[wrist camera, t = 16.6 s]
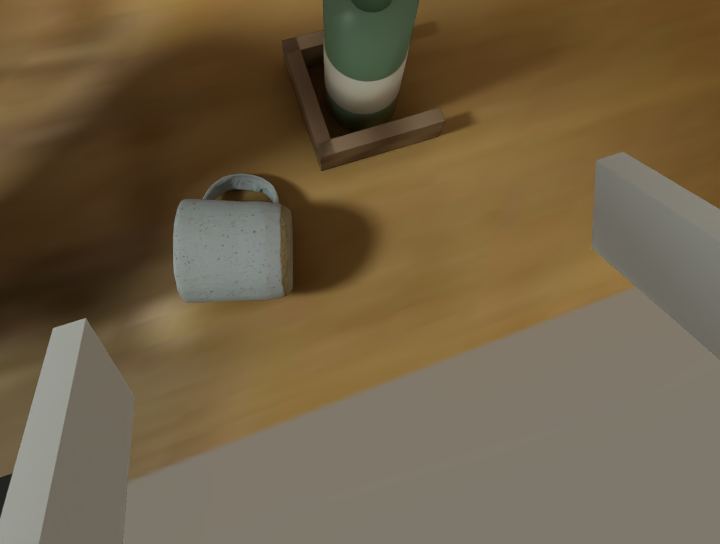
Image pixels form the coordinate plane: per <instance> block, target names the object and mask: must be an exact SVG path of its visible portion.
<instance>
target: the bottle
mask: <svg viewBox="0 0 720 544" xmlns="http://www.w3.org/2000/svg"><path fill="white" fill-rule="evenodd" d="M418 4H419V0H323V18H324V42H323V45H324V80H325V95H326V106H327V109H328V112H329V114H330V115H331V117H332V118H333V120H334V121H335V122H336V123H337V124H339V125H340V126H342V127H343V128H345V129H348V130H351V131H355V132H357V131H361V130H364V129H368V128H371V127H375V126H378V125H381V124H385V123H386V122H387V121H388V120H389V119H390V117H391V116H392V114H393V112H394V109H395V105H396V101H397V96H398V92H399V90H400V86H401V82H402V77H403V73H404V68H405V64H406V60H407V55H408V51H409V43H410V39H411V35H412V30H413V26H414V22H415V17H416V13H417V8H418Z"/></svg>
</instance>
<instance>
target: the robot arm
mask: <svg viewBox="0 0 720 544" xmlns="http://www.w3.org/2000/svg"><path fill="white" fill-rule="evenodd" d="M592 249H593V250H595V251H596V252H597V253H598V254H599V255H600V256H602V257H603V258H604V259H605V260H606V261H607V262H608V263H610V264H611V265H612V266H613V267H614V268H615V269H616V270H618V271H619V272H620V273H621V274H622V275H623V276H624V277H626V278H627V279H628V280H629V281H630V282H631V283H632V284H634V285H635V286H636V287H637V288H638V289H639V290H641V291H642V292H643V293H644V294H645V295H646V296H647V297H649V298H650V299H651V300H652V301H653V302H654V303H655V304H657V305H658V306H659V307H660V308H661V309H662V310H663V311H665V312H666V313H667V314H668V315H669V316H670V317H672V318H673V319H674V320H675V321H676V322H677V323H679V324H680V325H681V326H682V327H683V328H684V329H685V330H687V331H688V332H689V333H690V334H691V335H692V336H693V337H694V338H696V339H697V340H698V341H699V342H700V343H701V344H703V345H704V346H705V347H706V348H707V349H708V350H709V351H711V352H712V353H713V354H714V355H715V356H717V358H719V359H720V209H718V208H717V207H715V206H713V205H712V204H710V203H708V202H707V201H705V200H703V199H702V198H700V197H698V196H697V195H695V194H693V193H692V192H690V191H688V190H687V189H685V188H683V187H681V186H680V185H678V184H676V183H675V182H673V181H671V180H670V179H668V178H666V177H665V176H663V175H661V174H660V173H658V172H656V171H655V170H653V169H651V168H650V167H648V166H646V165H645V164H643V163H641V162H639V161H638V160H636V159H634V158H633V157H631V156H629V155H628V154H626V153H624V152H621V153H618V154H614V155H611V156H608V157H605V158H601V159H598V160H596V172H595V191H594V211H593V230H592ZM134 399H135V396H134V395H133V393H132V392H131V390H130V388H129V387H128V385H127V384H126V382H125V380H124V379H123V377H122V375H121V374H120V372H119V371H118V369H117V367H116V366H115V364H114V363H113V361H112V359H111V358H110V356H109V355H108V353H107V351H106V350H105V348H104V346H103V345H102V343H101V342H100V340H99V338H98V337H97V335H96V334H95V332H94V330H93V329H92V327H91V325H90V324H89V322H88V321H87V319H86V318H84V319H81V320H78V321H75V322H71V323H68V324H65V325H62V326H59V327H55V328H53V330H52V334H51V337H50V341H49V345H48V348H47V352H46V355H45V359H44V363H43V366H42V370H41V373H40V377H39V381H38V384H37V388H36V391H35V395H34V399H33V402H32V406H31V409H30V413H29V417H28V420H27V424H26V427H25V431H24V434H23V438H22V442H21V445H20V449H19V452H18V456H17V460H16V463H15V467H14V470H13V474H10V475H7V476H4V477H1V478H0V544H123V534H124V522H125V510H126V497H127V485H128V473H129V460H130V448H131V436H132V424H133V411H134Z"/></svg>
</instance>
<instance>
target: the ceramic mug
mask: <svg viewBox="0 0 720 544" xmlns="http://www.w3.org/2000/svg"><path fill="white" fill-rule="evenodd" d="M233 189H239V190H250V191H255V192H263V193H265V194H266V195H267V196H268V197H269V198H270V199H271V200H272V202H273V203H271V202H261V201H244V202H242V201H226V200H215V199H216V198H217V197H218V196H219V195H221V194H222V193H224V192H226V191H230V190H233ZM173 265H174V276H175V280H176V284H177V290H178V292H179V294H180V297H181V298H182V300H183V301H184V302H187V303H197V302H218V301H238V300H269V299H274V298H279V297H284V296H286V295H288V294H289V293H290V292H291V291H292V288H293V229H292V214H291V211H290V210H289V209H288V208H287V207H286V206H284V205H281V204H279V198H278V194H277V192H276V190H275V188H274V186H273V185H272V184H271V183H270V182H268V181H267V180H265V179H264V178H262V177H259V176H255V175H251V174H231V175H227V176H224V177H222V178H220V179H219V180H217V181H216V182H214V183H213V184H212V185H211V186H210V187H209V189H208V190H207V191H206V193H205V195H204V197H203V199H184V200H182V201H181V202H180V204H179V206H178V208H177V213H176V217H175V222H174V233H173Z"/></svg>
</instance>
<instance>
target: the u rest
mask: <svg viewBox="0 0 720 544" xmlns="http://www.w3.org/2000/svg"><path fill="white" fill-rule="evenodd" d="M323 42H324V30H320V31H317V32H313V33H309V34H305V35H302V36H298V37H294V38H291V39H287V40H283V41H282V46H283V53H284V59H285V63H286V66H287V69H288V72H289V75H290V78H291V81H292V84H293V87H294V90H295V93H296V96H297V99H298V102H299V105H300V108H301V111H302V114H303V117H304V120H305V123H306V126H307V129H308V132H309V135H310V138H311V141H312V144H313V147H314V150H315V153H316V156H317V159H318V162H319V165H320V168H321V171H323V170H326V169H330V168H333V167H336V166H340V165H343V164H347V163H350V162H353V161H357V160H360V159H363V158H367V157H370V156H374V155H377V154H380V153H384V152H387V151H390V150H394V149H397V148H401V147H404V146H407V145H411V144H414V143H417V142H421V141H424V140H428V139H431V138H434V137H438V136H439V134H440V132H441V129H442V127H443V125H444V123H445V119H444V116H443V114H442V111H441V108H436V109H433V110H430V111H426V112H423V113H419V114H416V115H412V116H409V117H406V118H402V119H399V120H395V121H392V122H388V123H385V124H381V125H378V126H375V127H371V128H368V129H364V130H361V131H357V132H354V133H351V134H347V135H344V136H340V137H337V138H333V139H330V136H329V133H328V130H327V127H326V124H325V121H324V118H323V115H322V112H321V109H320V106H319V103H318V100H317V98H316V95H315V92H314V89H313V86H312V83H311V80H310V77H309V74H308V71H307V68H309V67H313V66H317V65H320V64H324V45H323Z"/></svg>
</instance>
